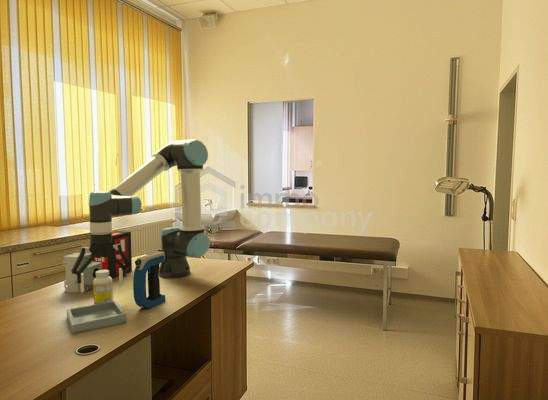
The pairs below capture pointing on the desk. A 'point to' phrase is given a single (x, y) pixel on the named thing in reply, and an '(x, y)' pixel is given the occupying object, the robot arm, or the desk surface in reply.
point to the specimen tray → (95, 316)
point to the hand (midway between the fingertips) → (102, 288)
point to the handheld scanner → (139, 279)
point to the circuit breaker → (88, 272)
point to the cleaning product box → (117, 254)
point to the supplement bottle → (102, 287)
